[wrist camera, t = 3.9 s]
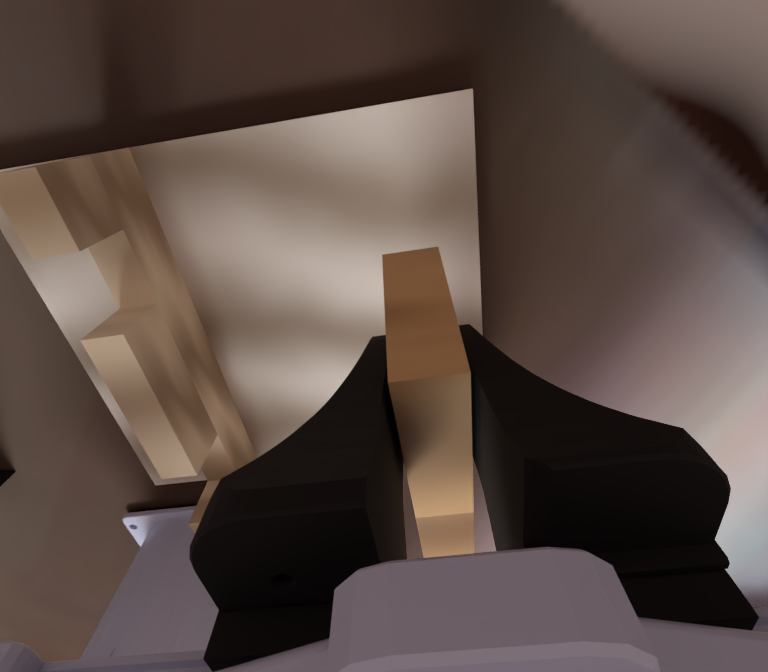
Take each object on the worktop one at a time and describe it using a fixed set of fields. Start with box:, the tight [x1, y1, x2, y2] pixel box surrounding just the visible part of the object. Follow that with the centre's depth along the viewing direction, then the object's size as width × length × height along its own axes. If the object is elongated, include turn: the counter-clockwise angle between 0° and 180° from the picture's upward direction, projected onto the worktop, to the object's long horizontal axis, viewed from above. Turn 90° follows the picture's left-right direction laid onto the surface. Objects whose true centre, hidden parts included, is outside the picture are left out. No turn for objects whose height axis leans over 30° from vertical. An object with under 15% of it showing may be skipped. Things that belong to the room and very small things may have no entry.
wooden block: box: [382, 247, 474, 558], centre depth 14 cm, size 14×2×5 cm, turn 8°
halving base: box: [0, 89, 483, 535], centre depth 19 cm, size 18×20×6 cm
